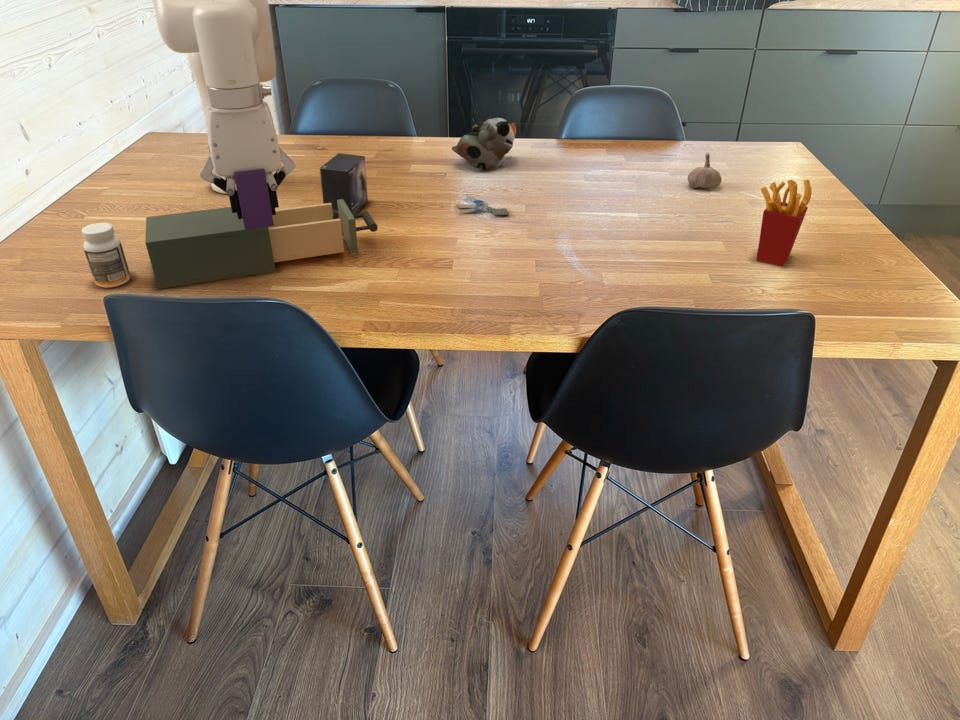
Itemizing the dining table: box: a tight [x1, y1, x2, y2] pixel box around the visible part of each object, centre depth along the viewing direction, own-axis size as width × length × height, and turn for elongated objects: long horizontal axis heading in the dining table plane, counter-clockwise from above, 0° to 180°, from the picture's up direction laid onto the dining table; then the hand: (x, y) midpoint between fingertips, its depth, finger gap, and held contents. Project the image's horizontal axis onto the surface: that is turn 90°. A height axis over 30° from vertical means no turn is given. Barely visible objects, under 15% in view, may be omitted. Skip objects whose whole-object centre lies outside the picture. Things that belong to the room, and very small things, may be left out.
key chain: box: [458, 194, 510, 216], centre depth 149 cm, size 14×8×1 cm, turn 47°
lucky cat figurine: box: [451, 117, 517, 172], centre depth 172 cm, size 15×12×14 cm
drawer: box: [268, 199, 379, 263], centre depth 129 cm, size 23×10×7 cm, turn 111°
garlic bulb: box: [687, 151, 723, 189], centre depth 161 cm, size 8×7×8 cm
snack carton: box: [234, 169, 274, 230], centre depth 111 cm, size 6×4×9 cm
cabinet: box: [144, 206, 276, 290], centre depth 124 cm, size 20×12×9 cm, turn 111°
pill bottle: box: [81, 222, 131, 288], centre depth 118 cm, size 6×6×10 cm
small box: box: [319, 152, 369, 219], centre depth 147 cm, size 11×6×10 cm, turn 168°
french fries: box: [756, 179, 812, 268], centre depth 128 cm, size 9×8×15 cm
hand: (256, 213), depth 113 cm, fingers closed on snack carton, 4 cm apart
